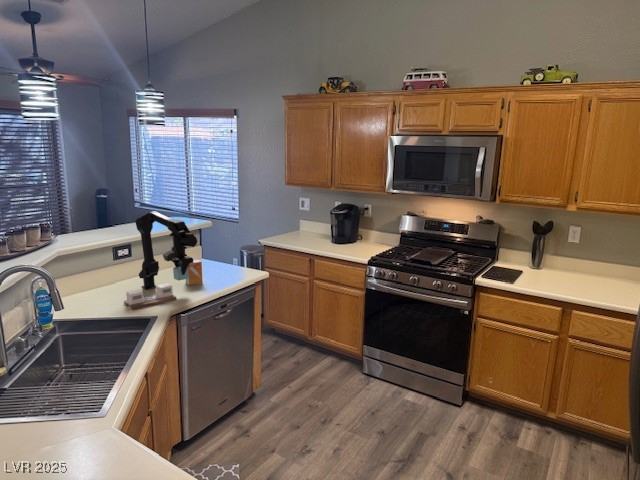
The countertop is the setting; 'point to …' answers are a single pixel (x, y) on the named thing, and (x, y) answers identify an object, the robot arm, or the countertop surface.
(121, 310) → the countertop surface
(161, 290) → the mounted modules
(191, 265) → the small box
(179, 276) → the block
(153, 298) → the metal rail
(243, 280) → the countertop surface
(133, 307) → the rail board
